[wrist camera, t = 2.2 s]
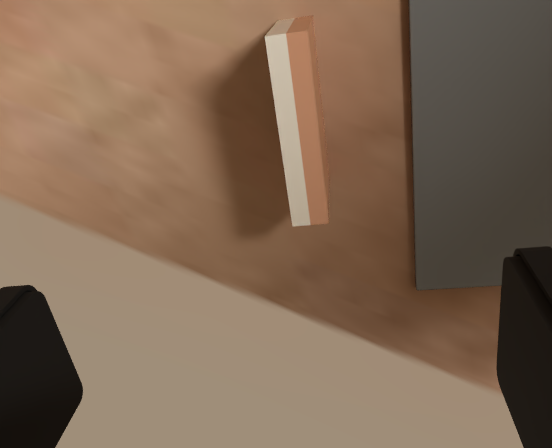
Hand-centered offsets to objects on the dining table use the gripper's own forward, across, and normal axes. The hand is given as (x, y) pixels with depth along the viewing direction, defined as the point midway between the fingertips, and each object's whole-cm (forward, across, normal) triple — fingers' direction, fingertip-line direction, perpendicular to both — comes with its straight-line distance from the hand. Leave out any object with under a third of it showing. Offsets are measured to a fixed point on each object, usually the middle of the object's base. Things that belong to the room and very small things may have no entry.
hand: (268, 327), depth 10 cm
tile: (+17, 0, 0) cm, 17 cm away
